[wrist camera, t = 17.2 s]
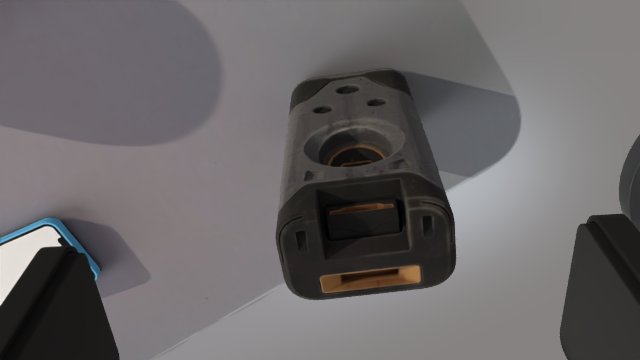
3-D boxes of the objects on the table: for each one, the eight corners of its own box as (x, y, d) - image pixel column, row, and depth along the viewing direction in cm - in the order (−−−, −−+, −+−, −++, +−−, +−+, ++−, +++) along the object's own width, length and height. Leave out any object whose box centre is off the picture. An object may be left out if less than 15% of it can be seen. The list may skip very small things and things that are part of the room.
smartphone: (-76, 274, 56) (51, 219, 53) (-69, 266, 57) (56, 211, 54) (-21, 328, 60) (101, 279, 56) (-15, 320, 61) (105, 271, 57)
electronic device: (405, 63, 47) (454, 196, 30) (410, 131, 50) (458, 289, 32) (288, 80, 48) (269, 219, 30) (300, 146, 50) (289, 308, 33)
